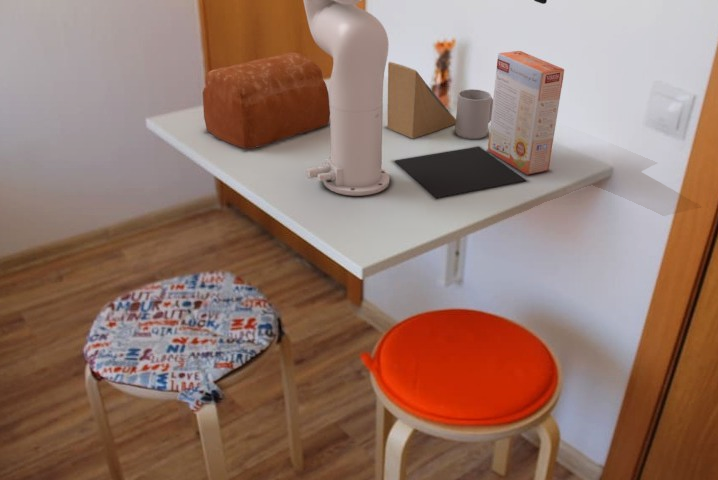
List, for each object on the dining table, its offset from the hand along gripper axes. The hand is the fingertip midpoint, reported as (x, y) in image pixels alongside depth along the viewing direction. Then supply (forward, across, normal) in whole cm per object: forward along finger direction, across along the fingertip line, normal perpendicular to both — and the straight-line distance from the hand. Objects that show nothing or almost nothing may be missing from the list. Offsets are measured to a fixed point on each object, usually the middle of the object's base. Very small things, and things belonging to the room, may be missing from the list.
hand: (560, 0), depth 139 cm
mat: (+31, -22, -3) cm, 38 cm away
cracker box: (+31, -8, -4) cm, 32 cm away
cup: (+31, -8, +13) cm, 34 cm away
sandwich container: (+31, -17, +22) cm, 41 cm away
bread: (+31, -49, +33) cm, 67 cm away
